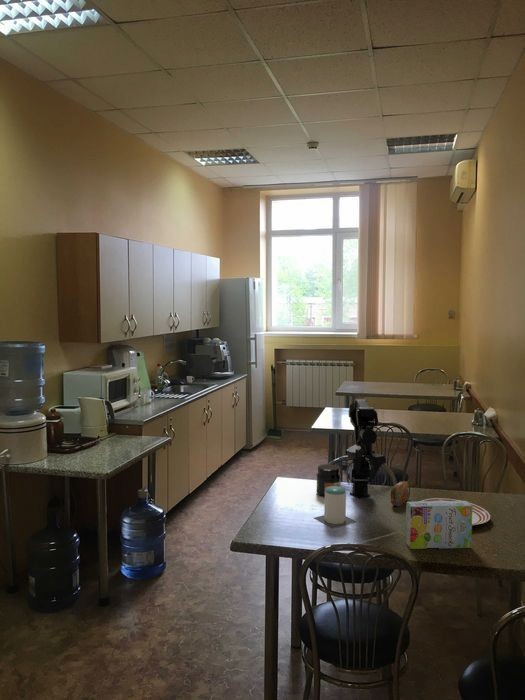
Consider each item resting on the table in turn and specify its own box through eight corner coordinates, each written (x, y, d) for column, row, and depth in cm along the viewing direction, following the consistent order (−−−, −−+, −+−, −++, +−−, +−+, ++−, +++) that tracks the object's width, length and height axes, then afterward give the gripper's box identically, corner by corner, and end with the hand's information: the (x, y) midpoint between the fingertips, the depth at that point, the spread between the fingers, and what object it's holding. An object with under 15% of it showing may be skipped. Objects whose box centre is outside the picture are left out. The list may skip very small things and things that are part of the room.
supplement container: (342, 498, 241) (342, 470, 240) (317, 498, 240) (318, 470, 239) (338, 490, 251) (339, 463, 250) (315, 490, 251) (315, 463, 250)
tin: (396, 509, 228) (396, 488, 228) (388, 507, 230) (389, 487, 229) (410, 498, 240) (411, 479, 239) (403, 497, 242) (404, 478, 241)
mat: (312, 519, 217) (313, 517, 217) (337, 513, 223) (337, 512, 223) (332, 529, 207) (332, 528, 207) (357, 523, 213) (357, 522, 213)
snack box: (465, 542, 197) (466, 500, 195) (471, 549, 191) (473, 505, 190) (405, 542, 196) (406, 500, 195) (409, 549, 190) (411, 506, 189)
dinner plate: (485, 509, 229) (486, 501, 229) (494, 535, 203) (494, 526, 202) (416, 502, 236) (416, 494, 236) (415, 527, 210) (415, 518, 210)
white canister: (328, 515, 220) (329, 485, 219) (347, 518, 216) (348, 487, 215) (322, 521, 213) (322, 490, 212) (341, 525, 210) (341, 493, 209)
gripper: (335, 435, 232) (335, 472, 233) (366, 445, 216) (365, 485, 217) (356, 432, 238) (355, 468, 239) (387, 441, 222) (386, 480, 223)
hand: (365, 475), depth 229 cm, fingers open, 9 cm apart
